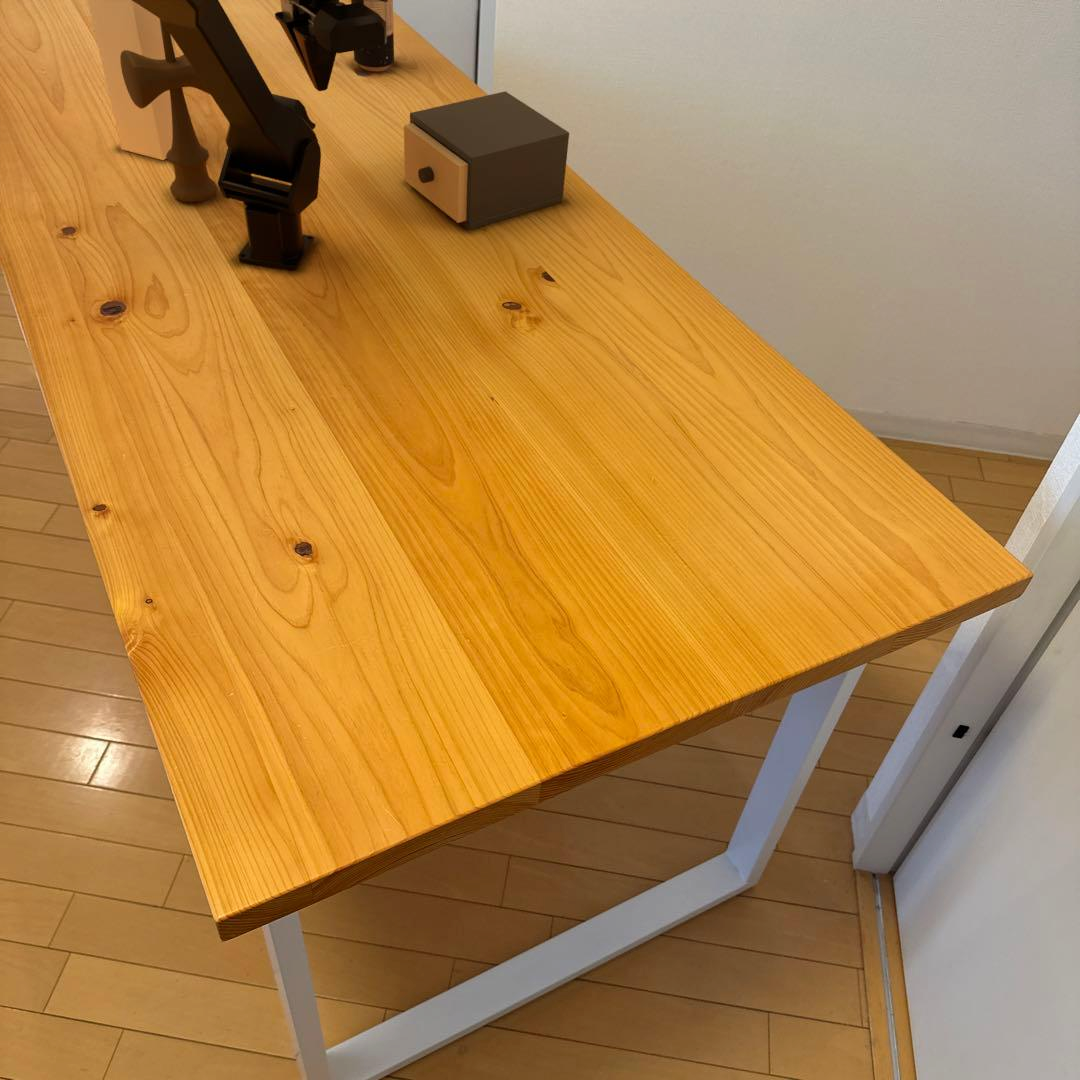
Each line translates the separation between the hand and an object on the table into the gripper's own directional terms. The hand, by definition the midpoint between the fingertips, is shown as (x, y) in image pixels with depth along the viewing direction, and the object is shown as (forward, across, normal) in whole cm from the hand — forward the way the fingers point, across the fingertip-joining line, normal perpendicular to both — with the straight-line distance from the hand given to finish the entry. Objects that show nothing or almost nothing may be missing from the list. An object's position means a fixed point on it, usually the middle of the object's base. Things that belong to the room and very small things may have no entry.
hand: (321, 89), depth 108 cm
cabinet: (+13, -7, -18) cm, 23 cm away
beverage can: (+13, +32, -25) cm, 43 cm away
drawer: (+12, -7, -15) cm, 21 cm away
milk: (+13, +22, +12) cm, 28 cm away
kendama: (+13, +9, +12) cm, 20 cm away
